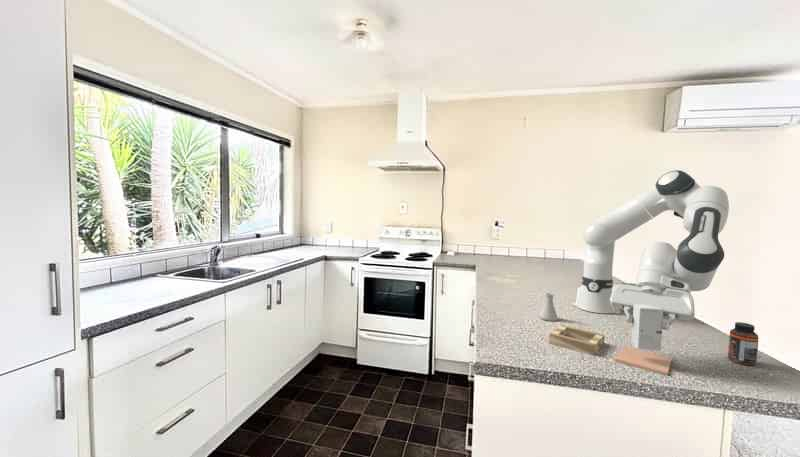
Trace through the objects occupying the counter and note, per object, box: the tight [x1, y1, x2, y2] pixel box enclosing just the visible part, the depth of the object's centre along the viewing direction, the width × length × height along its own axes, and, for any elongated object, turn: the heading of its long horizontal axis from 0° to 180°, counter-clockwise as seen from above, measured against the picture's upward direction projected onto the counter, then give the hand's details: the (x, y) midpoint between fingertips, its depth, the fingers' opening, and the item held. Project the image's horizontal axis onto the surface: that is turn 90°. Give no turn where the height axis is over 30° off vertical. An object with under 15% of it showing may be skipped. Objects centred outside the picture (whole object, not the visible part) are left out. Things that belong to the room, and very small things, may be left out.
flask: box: [538, 293, 559, 322], centre depth 136 cm, size 7×7×10 cm
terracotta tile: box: [614, 346, 673, 377], centre depth 99 cm, size 13×12×1 cm
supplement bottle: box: [727, 321, 760, 367], centre depth 99 cm, size 6×6×11 cm
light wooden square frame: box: [548, 324, 605, 356], centre depth 111 cm, size 13×13×3 cm
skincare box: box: [631, 304, 664, 352], centre depth 98 cm, size 6×4×12 cm
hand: (646, 325), depth 97 cm, fingers closed on skincare box, 7 cm apart
